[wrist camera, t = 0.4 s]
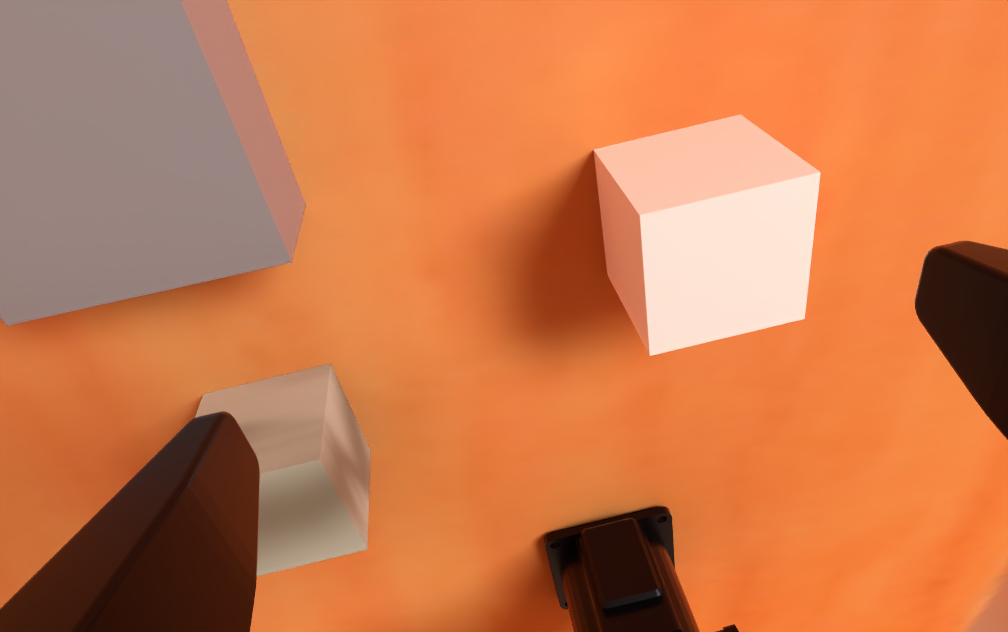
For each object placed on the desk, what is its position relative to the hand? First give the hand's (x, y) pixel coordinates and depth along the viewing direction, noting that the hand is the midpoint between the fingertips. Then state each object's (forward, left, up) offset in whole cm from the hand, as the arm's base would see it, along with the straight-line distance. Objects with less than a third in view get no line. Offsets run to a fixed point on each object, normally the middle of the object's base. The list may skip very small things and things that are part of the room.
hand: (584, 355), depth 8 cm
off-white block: (-6, -6, -14) cm, 16 cm away
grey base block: (+1, +10, -14) cm, 17 cm away
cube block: (-12, +10, -14) cm, 21 cm away
